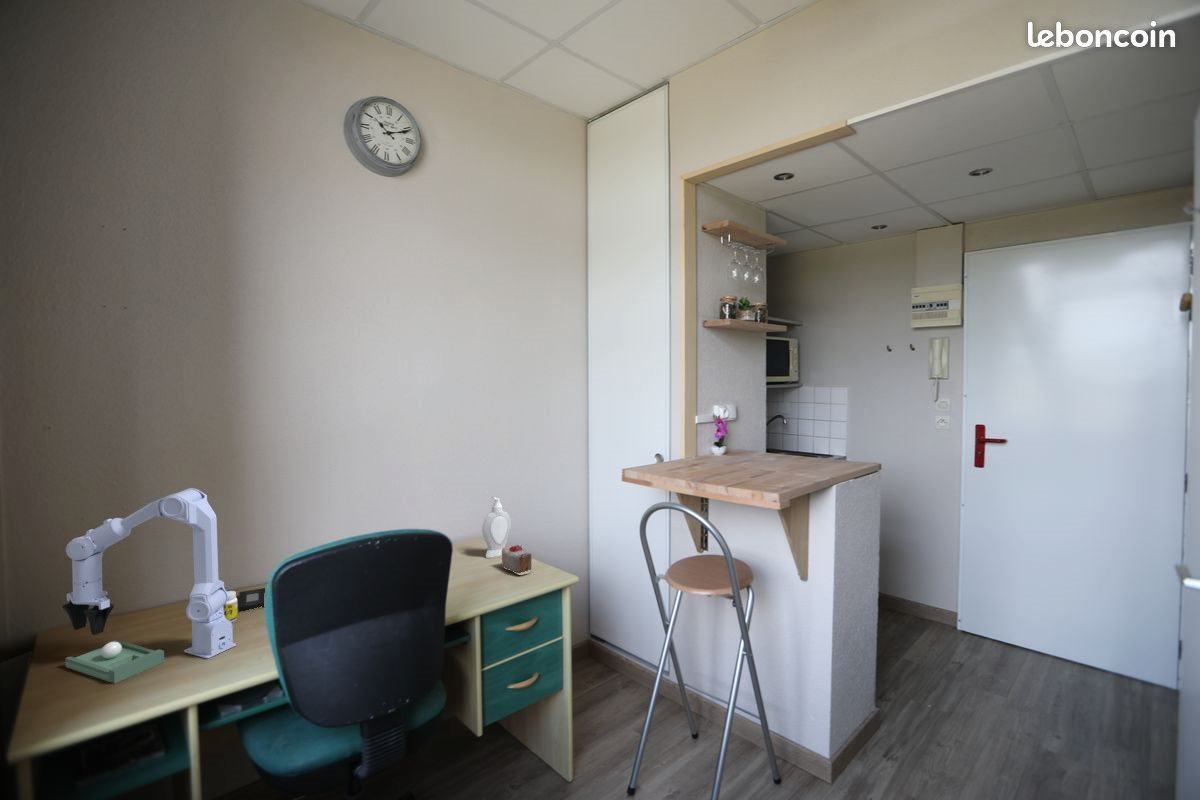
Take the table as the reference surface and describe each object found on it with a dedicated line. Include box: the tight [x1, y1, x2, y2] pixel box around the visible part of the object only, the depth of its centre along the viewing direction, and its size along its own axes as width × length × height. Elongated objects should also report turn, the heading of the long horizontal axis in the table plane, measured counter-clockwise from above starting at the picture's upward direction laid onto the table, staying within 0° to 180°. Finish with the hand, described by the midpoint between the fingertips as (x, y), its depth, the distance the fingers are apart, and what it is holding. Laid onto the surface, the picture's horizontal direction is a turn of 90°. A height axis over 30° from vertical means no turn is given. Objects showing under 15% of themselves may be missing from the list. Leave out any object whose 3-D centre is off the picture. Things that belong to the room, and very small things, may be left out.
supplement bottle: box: [223, 590, 238, 623], centre depth 168 cm, size 5×5×8 cm
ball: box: [101, 641, 122, 659], centre depth 143 cm, size 4×4×4 cm
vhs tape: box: [238, 587, 266, 613], centre depth 182 cm, size 8×14×2 cm, turn 32°
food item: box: [501, 544, 532, 573], centre depth 215 cm, size 14×8×10 cm, turn 41°
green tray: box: [65, 638, 165, 684], centre depth 142 cm, size 20×11×3 cm, turn 69°
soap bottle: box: [481, 496, 512, 557], centre depth 232 cm, size 13×8×24 cm, turn 123°
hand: (88, 630), depth 146 cm, fingers open, 7 cm apart
